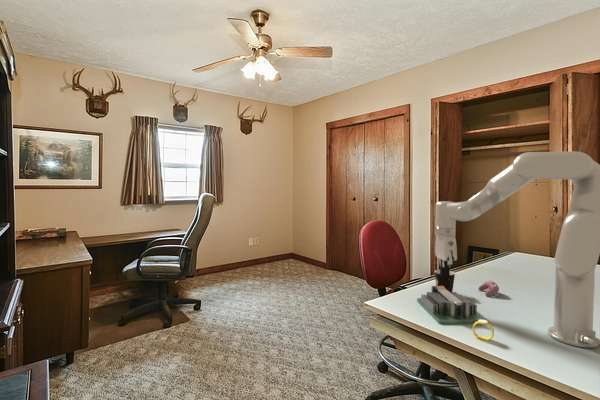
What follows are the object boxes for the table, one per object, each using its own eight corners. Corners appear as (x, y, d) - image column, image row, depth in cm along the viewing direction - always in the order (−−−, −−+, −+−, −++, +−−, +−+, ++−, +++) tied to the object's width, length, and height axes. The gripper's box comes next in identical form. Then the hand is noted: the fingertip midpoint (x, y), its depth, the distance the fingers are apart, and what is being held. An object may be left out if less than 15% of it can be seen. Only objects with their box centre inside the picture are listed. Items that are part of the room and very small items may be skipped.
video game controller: (494, 300, 140) (502, 287, 139) (485, 295, 141) (492, 282, 140) (486, 293, 150) (493, 281, 149) (477, 288, 150) (484, 276, 150)
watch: (472, 338, 103) (471, 320, 103) (473, 335, 105) (472, 317, 105) (493, 342, 99) (492, 323, 99) (494, 339, 102) (493, 320, 102)
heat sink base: (486, 323, 113) (486, 304, 113) (439, 323, 113) (439, 304, 113) (456, 301, 135) (456, 285, 135) (417, 301, 135) (417, 285, 135)
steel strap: (463, 306, 115) (463, 302, 115) (455, 306, 115) (455, 302, 115) (442, 289, 133) (442, 286, 133) (435, 289, 133) (435, 286, 133)
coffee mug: (435, 289, 151) (435, 269, 151) (455, 292, 147) (455, 271, 146) (432, 296, 141) (432, 274, 141) (453, 300, 137) (453, 277, 137)
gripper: (463, 234, 119) (463, 281, 120) (446, 229, 134) (445, 271, 135) (444, 234, 120) (443, 282, 120) (428, 229, 134) (428, 271, 135)
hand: (444, 276), depth 128 cm, fingers closed
